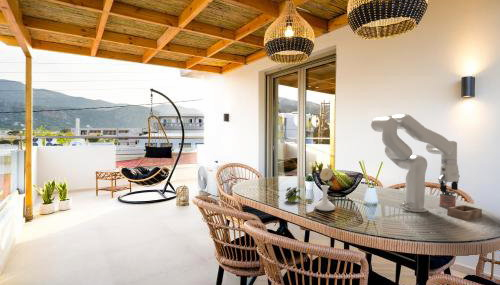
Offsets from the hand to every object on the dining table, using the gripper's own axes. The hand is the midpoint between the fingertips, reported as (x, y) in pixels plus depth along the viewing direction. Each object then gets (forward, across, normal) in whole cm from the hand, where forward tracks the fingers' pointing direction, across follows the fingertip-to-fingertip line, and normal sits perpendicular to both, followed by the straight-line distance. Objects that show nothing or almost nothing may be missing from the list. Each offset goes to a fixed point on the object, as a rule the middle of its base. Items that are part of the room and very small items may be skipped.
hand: (449, 190), depth 166 cm
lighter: (+10, -1, 0) cm, 10 cm away
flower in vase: (+8, -70, +24) cm, 74 cm away
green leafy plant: (+7, -77, +48) cm, 91 cm away
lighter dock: (+10, -9, -14) cm, 19 cm away
